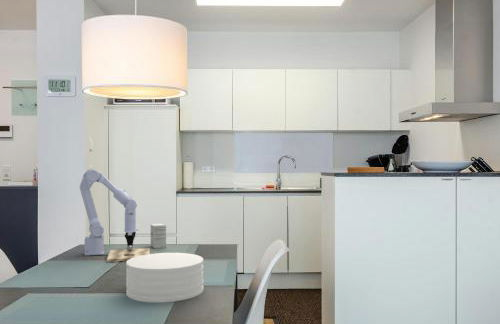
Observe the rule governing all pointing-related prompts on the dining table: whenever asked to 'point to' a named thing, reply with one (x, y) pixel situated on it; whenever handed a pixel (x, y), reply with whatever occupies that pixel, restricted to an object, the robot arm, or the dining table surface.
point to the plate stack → (164, 277)
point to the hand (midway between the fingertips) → (130, 246)
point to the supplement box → (158, 235)
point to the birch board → (126, 254)
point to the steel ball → (129, 248)
